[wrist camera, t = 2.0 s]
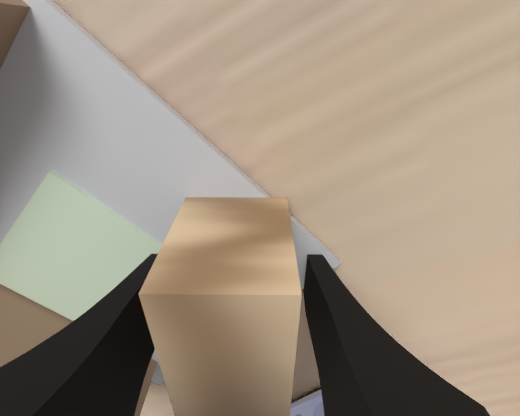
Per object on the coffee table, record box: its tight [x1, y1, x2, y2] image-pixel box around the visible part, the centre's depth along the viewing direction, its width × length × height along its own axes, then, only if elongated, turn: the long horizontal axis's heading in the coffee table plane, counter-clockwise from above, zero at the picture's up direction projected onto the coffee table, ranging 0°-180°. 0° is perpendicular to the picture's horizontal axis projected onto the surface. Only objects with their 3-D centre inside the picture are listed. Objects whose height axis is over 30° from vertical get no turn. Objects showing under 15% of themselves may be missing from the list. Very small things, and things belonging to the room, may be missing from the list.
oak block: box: [139, 197, 302, 416], centre depth 11 cm, size 4×6×5 cm, turn 0°
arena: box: [0, 0, 341, 416], centre depth 12 cm, size 16×14×4 cm
